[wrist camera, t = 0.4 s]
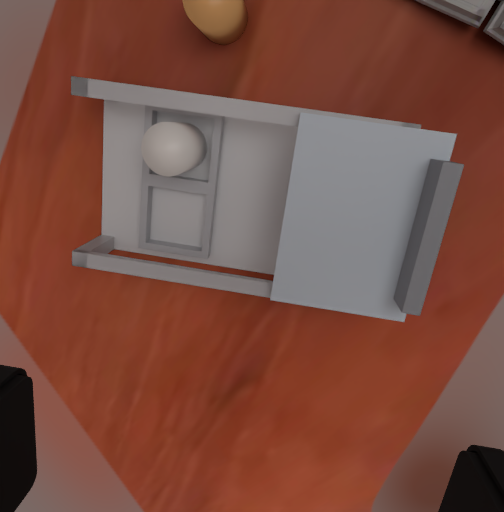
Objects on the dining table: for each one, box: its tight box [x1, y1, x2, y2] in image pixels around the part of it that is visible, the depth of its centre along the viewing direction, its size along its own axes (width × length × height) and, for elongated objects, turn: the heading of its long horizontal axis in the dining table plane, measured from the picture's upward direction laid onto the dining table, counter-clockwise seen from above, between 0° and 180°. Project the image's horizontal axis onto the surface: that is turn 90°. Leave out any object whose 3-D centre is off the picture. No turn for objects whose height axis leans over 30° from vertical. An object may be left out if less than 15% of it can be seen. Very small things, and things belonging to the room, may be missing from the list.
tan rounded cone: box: [183, 0, 248, 45], centre depth 29 cm, size 4×4×5 cm
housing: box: [71, 76, 421, 298], centre depth 32 cm, size 14×24×6 cm, turn 82°
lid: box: [270, 112, 464, 322], centre depth 27 cm, size 13×10×3 cm
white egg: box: [141, 122, 207, 177], centre depth 32 cm, size 4×4×5 cm
